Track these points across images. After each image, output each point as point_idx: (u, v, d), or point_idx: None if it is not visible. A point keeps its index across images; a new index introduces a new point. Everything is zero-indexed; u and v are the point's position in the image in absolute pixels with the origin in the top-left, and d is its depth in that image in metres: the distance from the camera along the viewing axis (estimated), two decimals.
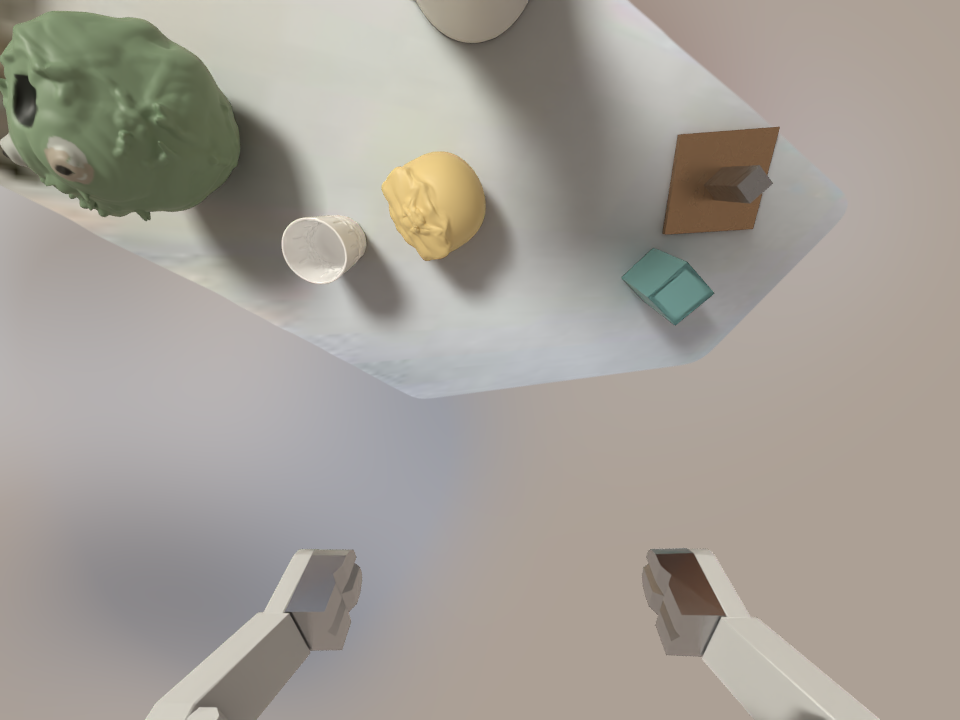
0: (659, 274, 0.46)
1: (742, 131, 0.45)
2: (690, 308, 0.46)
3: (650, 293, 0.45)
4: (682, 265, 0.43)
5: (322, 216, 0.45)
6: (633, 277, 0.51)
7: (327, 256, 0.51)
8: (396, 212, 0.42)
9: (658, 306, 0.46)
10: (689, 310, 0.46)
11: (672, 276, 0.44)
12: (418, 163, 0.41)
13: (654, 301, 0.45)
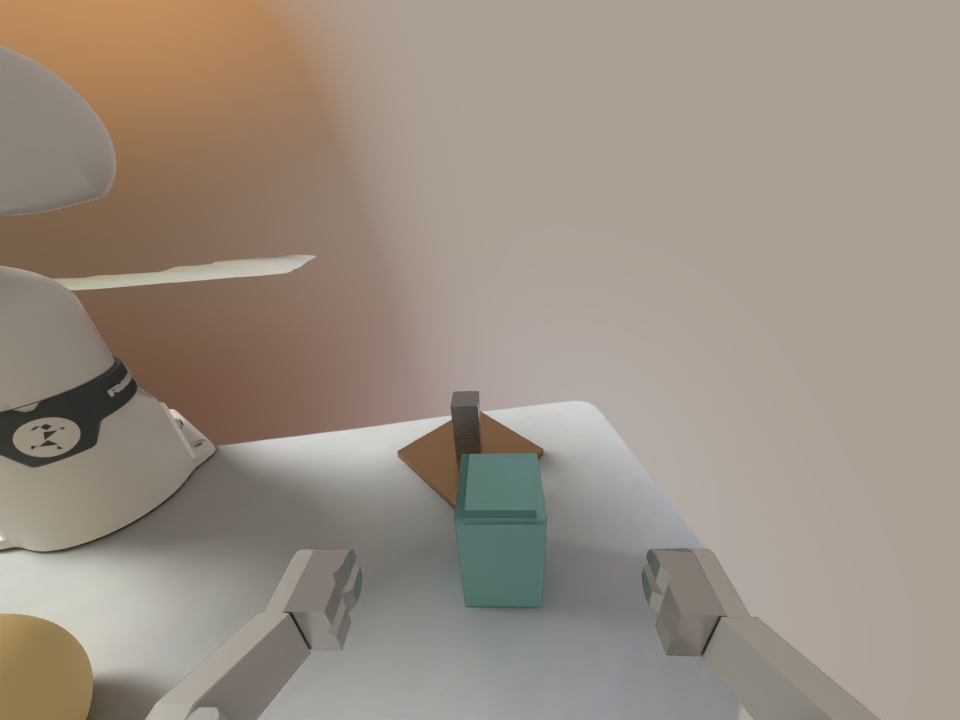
0: None
1: (448, 422, 0.46)
2: (534, 484, 0.25)
3: (455, 514, 0.23)
4: None
5: None
6: None
7: None
8: None
9: (486, 516, 0.23)
10: (537, 487, 0.24)
11: (461, 475, 0.26)
12: None
13: (471, 515, 0.23)
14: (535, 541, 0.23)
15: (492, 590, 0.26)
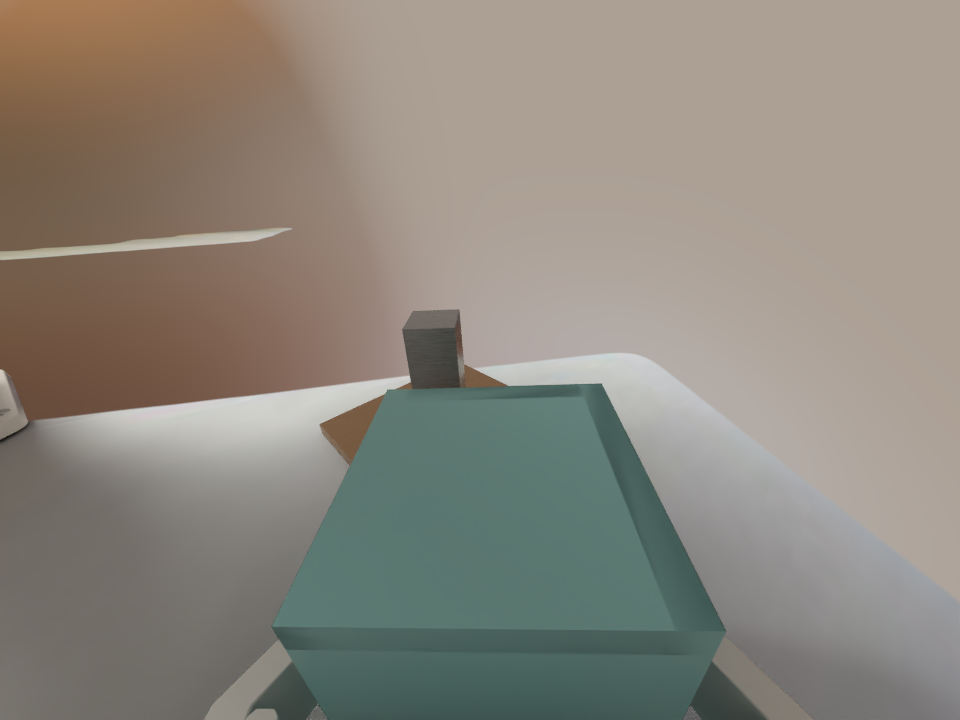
0: None
1: None
2: (616, 470, 0.07)
3: (297, 596, 0.05)
4: None
5: None
6: None
7: None
8: None
9: (426, 615, 0.05)
10: (631, 480, 0.07)
11: (367, 443, 0.08)
12: None
13: (357, 608, 0.05)
14: (643, 709, 0.05)
15: None
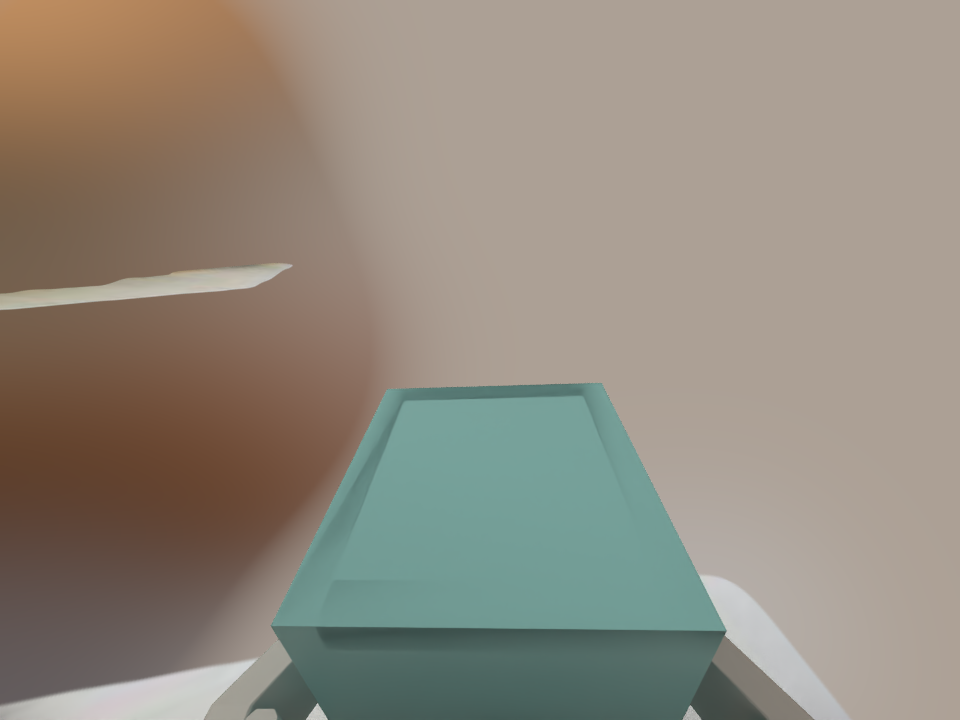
0: None
1: None
2: (616, 469, 0.07)
3: (296, 595, 0.05)
4: None
5: None
6: None
7: None
8: None
9: (425, 615, 0.05)
10: (631, 479, 0.07)
11: (367, 443, 0.08)
12: None
13: (357, 607, 0.05)
14: (643, 709, 0.05)
15: None
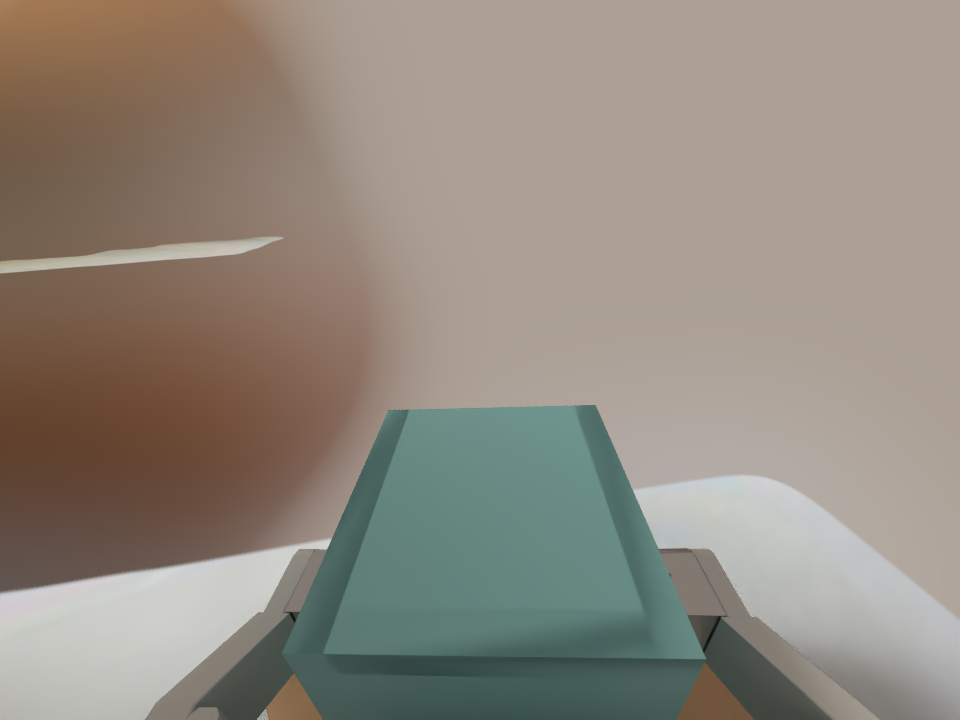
0: None
1: None
2: (608, 496, 0.07)
3: (304, 622, 0.06)
4: None
5: None
6: None
7: None
8: None
9: (427, 642, 0.05)
10: (622, 506, 0.07)
11: (370, 467, 0.08)
12: None
13: (362, 635, 0.05)
14: None
15: None
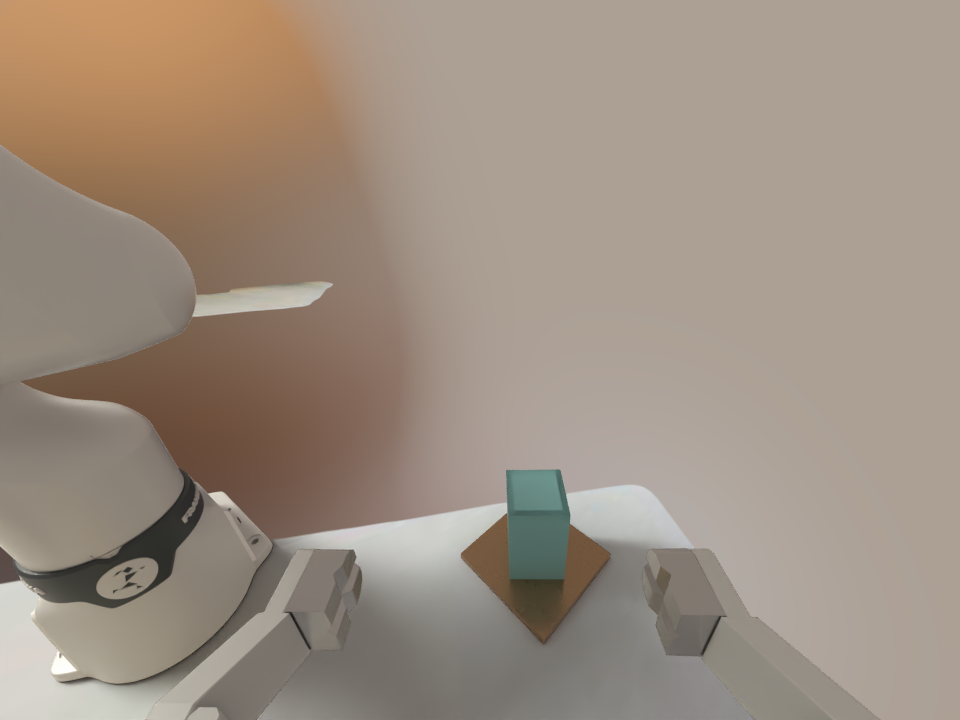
0: (507, 507, 0.37)
1: (506, 514, 0.45)
2: (560, 492, 0.36)
3: (508, 513, 0.34)
4: (506, 475, 0.38)
5: None
6: None
7: None
8: None
9: (529, 514, 0.34)
10: (562, 494, 0.36)
11: (508, 486, 0.37)
12: None
13: (519, 513, 0.34)
14: (562, 531, 0.34)
15: (530, 567, 0.37)
